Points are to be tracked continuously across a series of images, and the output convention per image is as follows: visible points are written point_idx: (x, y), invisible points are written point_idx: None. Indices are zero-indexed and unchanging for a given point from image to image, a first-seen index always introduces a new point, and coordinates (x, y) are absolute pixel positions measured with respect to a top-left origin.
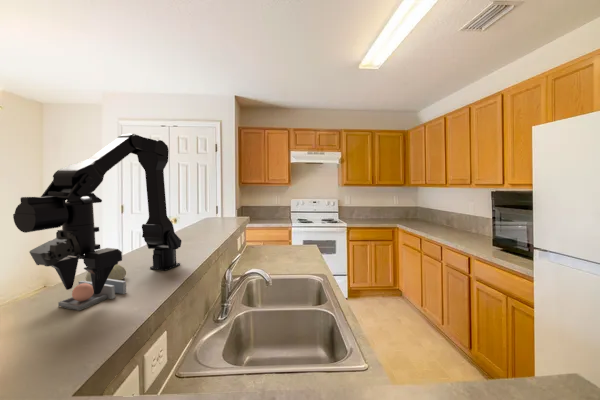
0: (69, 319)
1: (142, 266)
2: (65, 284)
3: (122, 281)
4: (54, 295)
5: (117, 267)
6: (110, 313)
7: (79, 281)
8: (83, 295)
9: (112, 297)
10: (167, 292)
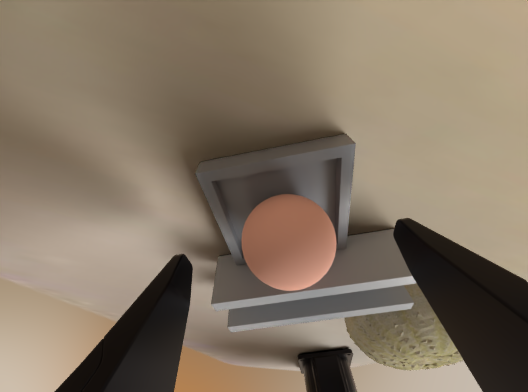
0: (110, 93)
1: None
2: (423, 240)
3: (238, 328)
4: (498, 176)
5: (376, 359)
6: (63, 210)
7: None
8: (245, 227)
9: (217, 262)
10: None
